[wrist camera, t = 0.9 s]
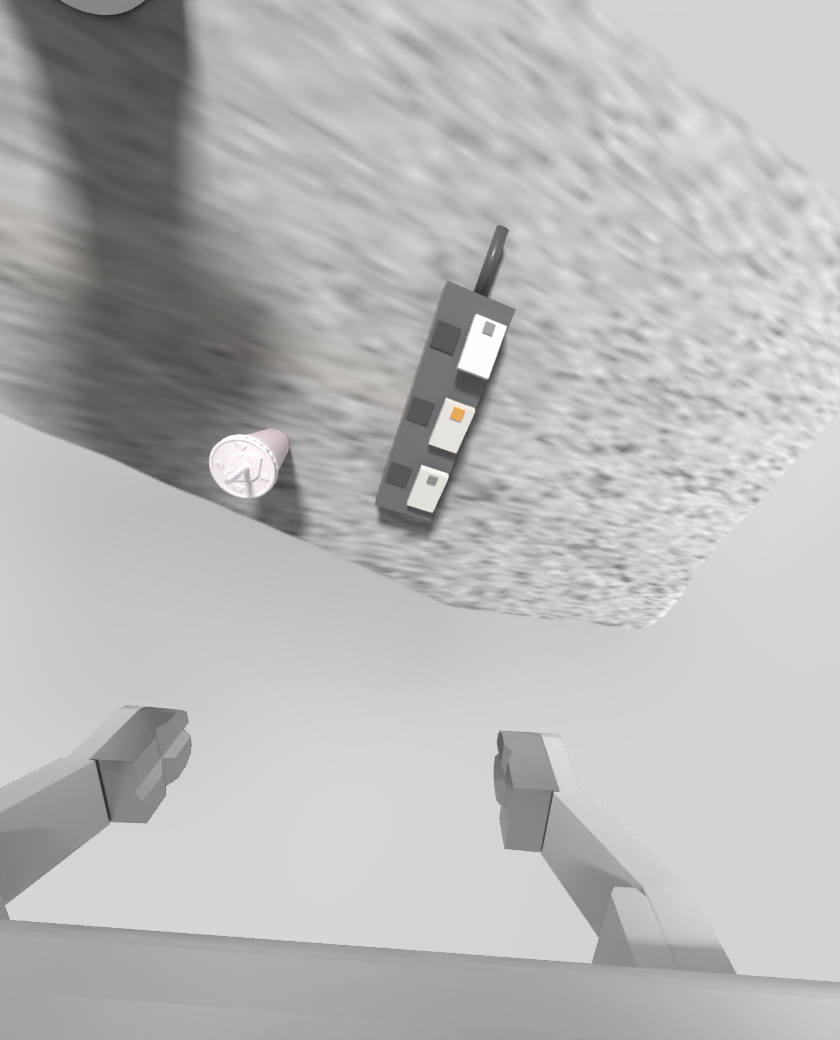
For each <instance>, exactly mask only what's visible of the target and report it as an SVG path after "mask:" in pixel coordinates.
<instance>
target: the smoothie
mask: <svg viewBox="0 0 840 1040" xmlns="http://www.w3.org/2000/svg"><path fill="white" fill-rule="evenodd" d="M288 451H289V441H288V439H287V437H286V436H285V434H284V433H282V432H281V431H279V430H277V429H266V430H262V431H258V432H255V433H251V434H247V435H241V434H238V435H231V436H228V437H226V438H224V439H222V440H221V441H220V442H219V443H217V444H216V445H215V446H214V448H213V449H212V451H211V453H210V457H209V468H210V472H211V474H212V476H213V478H214V480H215V481H216V483H217V484H218V485H219V486H220V487H221V488H222V489H223V490H224V491H226V492H227V493H229V494H231V495H233V496H235V497H239V498H244V499H253V498H258V497H260V496H262V495H264V494H265V493H267V492H268V491H269V490H270V489H272V487H273V486H274V484H275V483H276V481H277V477H278V470H279V468H280V467H281V465H282V463H283V461H284V459H285V457H286V455H287V453H288Z"/></svg>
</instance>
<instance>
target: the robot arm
mask: <svg viewBox="0 0 840 1040" xmlns="http://www.w3.org/2000/svg"><path fill="white" fill-rule="evenodd" d="M60 1H62V2H64V3H65V4H67V5H69V6H71V7H74V8H76V9H78V10H81V11H84V12H88V13H92V14H98V15H114V14H119V13H123V12H126V11H129V10H131V9H133V8H135V7H136V6H138V5H140V4H141V3H142V2H143V1H145V0H60ZM187 724H188V717H187V712H185V711H183V710H176V709H175V710H174V709H165V708H154V707H139V706H128V705H126V706H124V707H122V708H119V709H118V710H117V711H116V712H115V713H114V714H113V715H112V716H111V717H110V718H109V719H108V720H107V721H106V722H104V723H103V724H102V725H101V726H100V727H99V728H98V729H97V730H96V731H95V732H94V733H93V734H92V735H91V736H90V737H89V738H88V739H87V740H85V742H83V743H82V744H81V745H80V746H79V747H78V748H77V749H76V750H75V751H74V752H73V753H72V754H71V755H70V756H69V757H68V758H60V759H57V760H55V761H53V762H51V763H50V764H48V765H45V766H44V767H41V768H40V769H38V770H35V771H33V772H31V773H29V774H28V775H25V776H24V777H22V778H20V779H18V780H16V781H14V782H12V783H10V784H8V785H6V786H4V787H2V788H0V1040H840V982H829V981H815V980H802V979H789V978H775V977H762V976H746V975H737V974H736V972H735V970H734V968H733V966H732V964H731V963H730V961H729V959H728V957H727V955H726V953H725V951H724V949H723V948H722V946H721V944H720V942H719V940H718V938H717V936H716V935H715V933H714V931H713V929H712V927H711V925H710V924H709V922H708V920H707V918H706V916H705V914H704V912H703V911H702V909H701V907H700V905H699V903H698V901H697V899H696V898H695V896H694V894H693V892H692V890H691V889H690V888H689V887H688V886H687V885H685V884H684V883H683V882H682V881H681V880H680V879H679V878H678V877H677V876H676V875H675V874H674V873H673V872H672V871H671V870H670V869H668V868H667V867H666V866H665V865H664V864H663V863H662V862H661V861H660V860H659V859H658V858H657V857H656V856H655V855H654V854H653V853H651V851H650V850H648V849H647V848H646V847H645V846H644V845H643V844H642V843H641V842H640V841H639V840H638V839H637V838H636V837H635V836H634V835H633V834H632V833H630V832H629V831H628V830H627V829H626V828H625V827H624V826H623V825H622V824H621V823H620V822H619V821H618V820H617V819H616V818H615V817H613V816H612V815H611V814H610V813H609V812H608V811H607V810H606V809H605V808H604V807H603V806H602V805H601V804H600V803H599V802H598V801H597V800H596V799H595V798H593V797H592V796H591V795H590V794H584V793H583V790H582V788H581V785H580V783H579V780H578V778H577V775H576V773H575V771H574V768H573V765H572V763H571V760H570V758H569V755H568V753H567V751H566V748H565V745H564V743H563V740H562V738H561V736H560V735H559V734H551V733H531V732H512V731H499V734H498V739H497V746H498V751H499V753H498V754H497V755H496V756H495V762H494V786H495V794H496V800H497V801H498V803H499V804H500V805H501V811H500V818H499V819H500V825H501V831H502V837H503V842H504V848H505V849H513V850H522V851H532V852H542V854H541V855H542V856H543V857H544V859H545V860H546V862H547V863H548V865H549V866H550V867H551V869H552V871H553V872H554V874H555V875H556V876H557V878H558V879H559V881H560V882H561V884H562V885H563V887H564V888H565V889H566V891H567V892H568V894H569V895H570V896H571V898H572V900H573V901H574V902H575V904H576V905H577V907H578V908H579V910H580V911H581V913H582V914H583V915H584V917H585V918H586V920H587V921H588V923H589V924H590V926H591V927H592V928H593V930H594V931H595V933H596V934H597V936H598V937H599V939H598V943H597V947H596V950H595V954H594V957H593V961H592V964H588V963H576V962H575V963H574V962H562V961H549V960H536V959H523V958H522V959H521V958H508V957H495V956H483V955H469V954H456V953H443V952H442V953H441V952H429V951H415V950H402V949H389V948H376V947H375V948H374V947H362V946H349V945H335V944H322V943H309V942H295V941H282V940H267V939H255V938H241V937H228V936H215V935H200V934H188V933H175V932H161V931H148V930H135V929H121V928H108V927H94V926H82V925H81V926H80V925H68V924H55V923H42V922H28V921H15V920H10V919H9V916H8V913H7V911H6V908H5V905H6V904H7V903H8V902H10V901H11V900H12V899H14V898H15V897H16V896H18V895H19V894H20V893H21V892H23V891H24V890H25V889H26V888H28V887H29V886H30V885H32V884H33V883H34V882H35V881H37V880H38V879H40V878H41V877H42V876H43V875H45V874H46V873H47V872H49V871H50V870H51V869H52V868H54V867H55V866H56V865H58V864H59V863H60V862H62V861H63V860H64V859H65V858H67V857H68V856H69V855H71V854H72V853H73V852H74V851H75V850H77V849H78V848H80V847H81V846H82V845H83V844H85V843H86V842H87V841H89V840H90V839H91V838H93V837H94V836H95V835H96V834H98V833H99V832H100V831H102V830H103V829H104V828H105V827H107V826H108V825H109V824H110V823H109V822H125V823H147V822H148V821H149V819H150V818H151V816H152V815H153V814H154V812H155V811H156V809H157V808H158V806H159V805H160V803H161V802H162V801H163V799H164V798H165V796H166V786H167V785H169V784H170V783H171V782H173V781H174V780H176V779H177V778H178V777H179V776H180V774H181V773H182V771H183V770H184V768H185V767H186V764H187V762H188V759H189V756H190V753H191V745H192V744H191V737H190V735H189V734H188V733H187V732H186V731H185V730H184V728H185V727H186V725H187Z"/></svg>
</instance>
